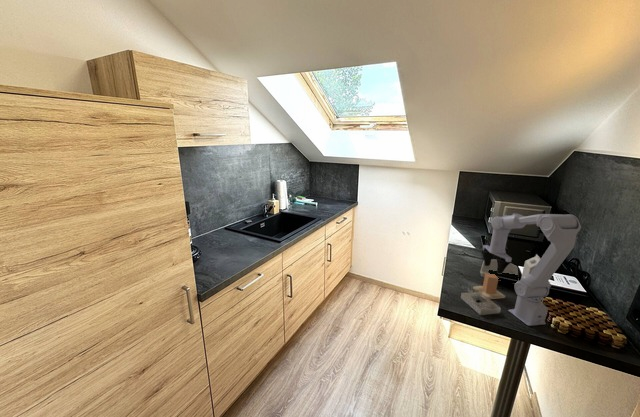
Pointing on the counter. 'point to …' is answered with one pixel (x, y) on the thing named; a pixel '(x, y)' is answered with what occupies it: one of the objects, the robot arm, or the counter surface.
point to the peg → (490, 283)
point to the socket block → (484, 306)
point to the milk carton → (530, 265)
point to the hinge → (494, 265)
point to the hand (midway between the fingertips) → (493, 269)
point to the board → (488, 295)
